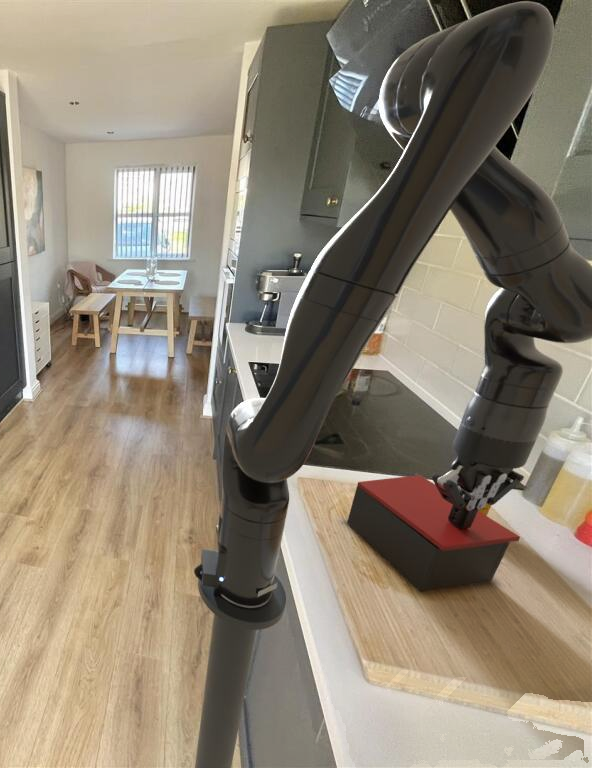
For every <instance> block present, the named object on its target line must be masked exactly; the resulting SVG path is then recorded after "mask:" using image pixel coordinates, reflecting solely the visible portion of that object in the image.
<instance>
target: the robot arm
mask: <svg viewBox="0 0 592 768" xmlns="http://www.w3.org/2000/svg"><path fill="white" fill-rule="evenodd" d="M554 40H555V25H554V18H553V16H552V15H551V13H550V11H549V9H548V8H547V7H546V6H545V5H543V4H541V3H540V2H536V1H531V0H530V1H529V0H524V1H516V2H512V3H508V4H504V5H501V6H497V7H495V8H492V9H489V10H486V11H484V12H481V13H479V14H477V15H475V16H473V17H470V18H468V19H466V20H464V21H462V22H459V23H456V24H454V25H452V26H450V27H447V28H445V29H442V30H440V31H437V32H435V33H433V34H431V35H429V36H426V37H425V38H423V39H420V40H419V41H418V42H416V43H414V44H412V45H411V46H410V47H409V48H407V49H406V50H404V51H403V52H402V53H401V54H400V55H399V56H398V57H397V59H395V61H394V62H393V63H392V64H391V67H390V68H389V69H388V70H387V73H386V75H385V77H384V79H383V81H382V84H381V87H380V91H379V99H378V107H379V114H380V119H381V121H382V123H383V124H384V126H385V128H386V130H387V132H388V133H389V135H390V136H391V137H392V138H393V139H394V141H395V142H396V143H397V144H398V146H399V147H400V148H401V149H402V150H403V152H402V155H401V156H400V159H399V160H398V162H397V163H396V165H395V167H394V168H393V170H392V171H391V173H390V175H389V176H388V177H387V179H386V181H385V182H384V183H383V184H382V186H381V187H380V188H379V190H377V192H376V193H375V194H374V195H373V196H372V198H370V200H368V202H366V203H365V205H364V206H363V207H362V208H361V209H360V210H359V211H358V212H357V213H355V214H354V216H353V217H352V218H351V219H350V220H349V221H348V222H347V223H345V225H344V226H342V227H341V229H340V230H339V231H338V232H337V233H336V234H335V235H334V236H333V237H332V238H331V239H330V241H328V242H327V244H326V245H325V246H324V248H323V249H322V250H321V251H320V253H319V254H318V255H317V256H316V257H317V258H316V259H315V260H314V263H313V264H312V266H311V268H310V270H309V271H308V274H307V276H306V278H305V280H304V282H303V284H302V286H301V288H300V290H299V292H298V294H297V296H296V298H295V301H294V304H293V306H292V309H291V311H290V315H289V317H288V322H287V325H286V330H285V334H284V339H283V343H282V344H283V345H282V350H281V355H280V360H279V364H278V368H277V373H276V375H275V378H274V381H273V383H272V385H271V387H270V389H269V392H267V395H266V397H254V398H250V399H247V400H245V401H243V402H241V403H240V404H238V405H237V406H236V407H235V408H234V409H233V410H232V411H231V413H230V414H229V417H228V418H227V422H226V426H225V433H224V441H223V454H222V465H221V482H222V491H221V500H220V506H219V507H220V509H219V517H218V525H215V530H214V537H213V547H212V549H206V548H205V549H204V548H202V549H201V555H200V564H198V565H197V566H195V568H194V570H193V573H194V576H195V577H196V578H197V580H198V579H199V580H201V581H202V585H203V586H210V587H213V594H214V596H218V597H221V598H222V599H224V600H225V601H226V602H228V603H229V604H231V605H233V606H235V607H238V608H242V609H247V610H255V609H260V608H262V607H264V606H266V605H267V604H268V603H269V601H270V599H271V595H272V590H274V589H276V588H277V583H276V584H274V585H273V581H274V576H275V575H276V571H277V566H278V562H279V561H278V560H279V555H280V550H281V546H282V540H283V535H284V529H285V525H286V519H287V516H288V509H289V504H290V490H289V485H288V479H289V478H291V477H292V476H294V475H295V474H296V473H297V472H298V471H300V469H301V468H302V467H303V466H304V464H305V463H306V461H307V459H308V458H309V455H310V454H311V452H312V450H313V447H314V445H315V442H316V440H317V438H318V436H319V434H320V431H321V429H322V427H323V425H324V422H325V420H326V418H327V416H328V414H329V412H330V409H331V408H332V405H333V404H334V401H335V399H336V397H337V396H338V394H339V392H340V391H341V389H342V387H343V386H344V384H345V383H346V382H347V380H348V378H349V376H350V375H351V373H352V371H353V369H354V368H355V366H356V364H357V363H358V361H359V359H360V358H361V355H362V354H363V352H364V351H365V349H366V347H367V345H368V344H369V342H370V340H371V339H372V338H373V336H374V334H375V333H376V332H377V330H378V328H379V327H380V326H381V324H382V323H383V321H384V319H385V317H386V316H387V314H388V313H389V311H390V310H391V307H392V306H393V305H394V302H395V301H396V299H397V298H398V295H399V294H400V292H401V291H402V289H403V287H404V285H405V283H406V282H407V279H408V277H409V276H410V274H411V272H412V270H413V269H414V267H415V265H416V263H417V262H418V261H419V259H420V258H421V256H422V254H423V253H424V251H425V250H426V248H427V246H428V245H429V243H430V242H431V240H432V239H433V237H434V235H435V233H436V232H437V231H438V229H439V227H440V226H441V225H442V223H443V221H444V219H445V218H446V217H447V215H448V213H449V212H451V213H452V215H453V217H454V218H455V219H456V221H457V223H458V224H459V226H460V227H461V229H462V231H463V234H464V236H465V237H466V239H467V241H468V243H469V246H470V248H471V249H472V252H473V254H474V256H475V258H476V261H477V263H478V264H479V267H480V268H481V270H482V272H483V275H484V276H485V278H486V279H487V281H488V282H489V283H491V285H494V286H495V287H497V288H499V289H497V291H496V292H494V294H493V295H492V296H491V298H490V299H489V301H488V303H487V305H486V307H485V312H484V318H483V319H484V320H483V336H484V337H483V340H484V341H483V342H484V343H483V345H484V346H483V347H484V349H483V350H484V351H483V352H484V353H483V354H484V365H483V367H482V371H481V373H480V376H479V378H478V381H477V384H476V387H475V390H474V391H473V394H472V395H471V397H470V399H469V401H468V403H467V405H466V407H465V410H464V413H463V415H462V418H461V421H460V423H459V426H458V429H457V431H456V435H455V437H454V441H453V442H452V447H453V449H454V451H455V452H456V453H455V454H456V458H455V459H454V461H453V462H452V463H451V464H450V470H449V471H448V472H447V473H445V474H444V475H442V474H440V473H435V474H433V476H432V477H431V480H432V481H433V483H434V484H435V485H436V487H437V489H438V491H439V492H440V494H441V496H442V498H443V499H445V500H446V501H448V502H449V503H451V504H452V505H453V506H452V508H451V511H450V515H449V516H448V520H449V522H450V523H452V524H453V525H454V526H456V527H457V528H459V529H465V528H470V527H471V525H472V523H473V521H474V519H475V517H476V514H477V512H478V510H481V509H483V508H484V507H485V505H486V504H487V503H488V504H489V505H491V506H494V505H496V503H498V502H499V501H500V500H501V499H502V498H503V497H505V496H506V495H507V494H508V493H509V492H511V491H512V490H513V489H514V488H515V487H516V486H518V484H520V483H521V482H523V480H524V479H525V476H524V475H523V474H521V473H519V472H517V471H515V469H520V468H522V467H524V466H525V465H526V464H527V462H528V459H529V457H530V455H531V452H532V451H533V448H534V446H535V444H536V441H537V439H538V438H539V435H540V433H541V430H542V428H543V426H544V424H545V421H546V417H547V413H548V408H549V405H550V403H551V401H552V399H553V396H554V394H555V392H556V390H557V388H558V386H559V384H560V382H561V379H562V377H563V372H564V368H563V365H562V364H561V363H560V362H559V361H558V360H555V359H554V358H552V357H550V356H548V355H546V354H544V353H543V352H541V351H540V350H539V349H538V348H537V347H536V343H535V339H537V340H538V339H539V340H543V341H546V342H551V343H556V344H579V343H583V342H586V341H590V340H592V265H591V264H590V262H589V261H588V260H587V259H586V258H585V257H584V256H583V255H581V254H580V253H579V252H578V251H577V250H576V249H574V248H573V247H572V243H571V240H570V237H569V234H568V232H567V229H566V226H565V223H564V220H563V217H562V216H561V212H560V210H559V209H558V207H557V205H556V202H555V201H554V200H553V198H552V197H551V196H550V195H549V193H548V192H547V191H546V190H545V189H544V188H543V186H541V185H540V184H539V183H538V182H537V181H535V180H534V179H533V178H532V177H530V176H529V175H528V174H527V173H526V172H525V171H523V170H522V169H521V168H519V166H517V165H516V164H514V163H513V162H512V161H511V160H509V158H508V157H507V156H505V155H504V154H503V153H502V152H501V151H500V150H499V149H498V148H497V144H498V143H499V141H500V140H501V139H502V137H503V136H504V135H505V133H506V131H508V129H509V128H510V126H511V125H512V124H513V123H514V121H515V119H516V118H517V117H518V115H519V114H520V112H521V110H522V109H523V108H524V107H525V105H526V104H527V102H528V101H529V99H530V97H531V96H532V94H533V93H534V91H535V89H536V88H537V86H538V84H539V83H540V81H541V78H542V76H543V74H544V71H545V69H546V67H547V65H548V63H549V60H550V57H551V55H552V50H553V46H554ZM201 571H202V574H201V573H200V572H201Z"/></svg>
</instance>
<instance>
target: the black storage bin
mask: <svg viewBox="0 0 592 768" xmlns="http://www.w3.org/2000/svg"><path fill="white" fill-rule="evenodd" d="M346 524H347V526H349V527H350V528H351V529H352V530H353V531H354V532H355V533H356V534H358V535H359V536H360V537H361V538H362V539H363V540H364V541H365V542H366V543H367V544H369V546H371V547H372V548H373V549H374V550H375V551H376V553H378V554H379V555H380V556H382V558H384V560H385V561H387V562H388V563H389V564H390V565H391V566H392V567H393V568H394V569H395V570H396V571H397V572H399V573H400V574H401V575H402V576H403V577H404V578H405V579H406V580H407V581H408V582H409V583H410V584H411V585H412V586H414V587H415V588H416V589H417V590H418V591H419V592H420V593H421V592H427V591H434V590H435V591H436V590H440V589H447V588H448V589H449V588H456V587H462V586H470V585H476V584H483V583H491V582H492V581H493V579H494V577H495V574H496V572H497V570H498V568H499V566H500V564H501V563H502V560H503V558H504V556H505V554H506V551H507V549H508V547H509V545H510V543H511V542H505V543H498V544H491V545H483V546H476V547H468V548H461V549H453V550H446V551H443V550H441V549H440V548H439V547H437V546H436V545H435V544H433V543H432V542H431V541H429V540H428V539H427V538H425V537H424V536H423V535H422V534H420V533H419V532H418V531H416V530H415V529H414V528H412V527H411V526H410V525H408V524H407V523H406V522H405V521H403V520H402V519H401V518H399V517H398V516H397V515H395V514H394V513H393V512H391V511H390V510H389V509H387V508H386V507H385V506H384V505H382V504H381V503H380V502H378V501H377V500H376V499H374V498H373V497H372V496H370V495H369V494H368V493H367V492H365V491H364V490H363V489H361V488H360V487H359V486H357V485H356V488H355V492H354V496H353V499H352V503H351V507H350V511H349V513H348V518H347V522H346Z"/></svg>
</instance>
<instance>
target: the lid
mask: <svg viewBox="0 0 592 768" xmlns="http://www.w3.org/2000/svg"><path fill="white" fill-rule="evenodd" d="M357 486H359V487H360V488H361V489H363V490H364V491H365V492H367V493H368V494H369V495H370V496H372V497H373V498H374V499H376V500H377V501H378V502H380V503H381V504H382V505H384V506H385V507H386V508H387V509H389V510H390V511H391V512H393V513H394V514H395V515H397V516H398V517H399V518H401V519H402V520H403V521H405V522H406V523H407V524H408V525H410V526H411V527H412V528H414V529H415V530H416V531H418V532H419V533H420V534H422V535H423V536H424V537H425V538H427V539H428V540H429V541H431V542H432V543H433V544H435V545H436V546H437V547H439V548H440V549H441V550H443V551H446V550H453V549H461V548H468V547H476V546H483V545H491V544H498V543H505V542H510V543H512V542H513V543H514V542H518V541H520V538H521V536H520V535H518V534H517V533H515V532H513V531H511V530H510V529H508V528H507V527H505V526H504V525H502V524H500V523H499V522H497V521H496V520H494V519H493V518H490V517H489V516H488V515H487V516H486V515H484V514H482V513H481V512H479V511H478V512H477V514H476V517H475V519H474V521H473V523H472V525H471V527H470V528H465V529H459V528H457V527H456V526H454V525H453V524H452V523H450V522H449V520H448V516H449V515H450V511H451V508H452V506H453V505H452V504H451V503H449V502H448V501H446V500H445V499H443V498H442V496H441V494H440V492H439V491H438V489H437V487H436V485H435V483H434V482H432V481H430V480H429V479H427V478H426V477H424V476H423V475H420V474H417V475H409V476H400V477H399V476H398V477H390V478H381V479H373V480H364V481H357V484H356V487H357Z"/></svg>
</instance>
